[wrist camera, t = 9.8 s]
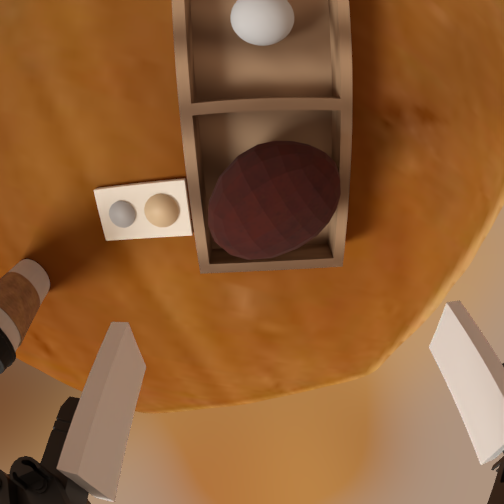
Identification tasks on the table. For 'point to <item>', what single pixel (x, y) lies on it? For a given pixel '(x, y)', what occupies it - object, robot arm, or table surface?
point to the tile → (144, 210)
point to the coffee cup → (19, 305)
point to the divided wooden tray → (263, 111)
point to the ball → (262, 20)
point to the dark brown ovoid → (273, 199)
